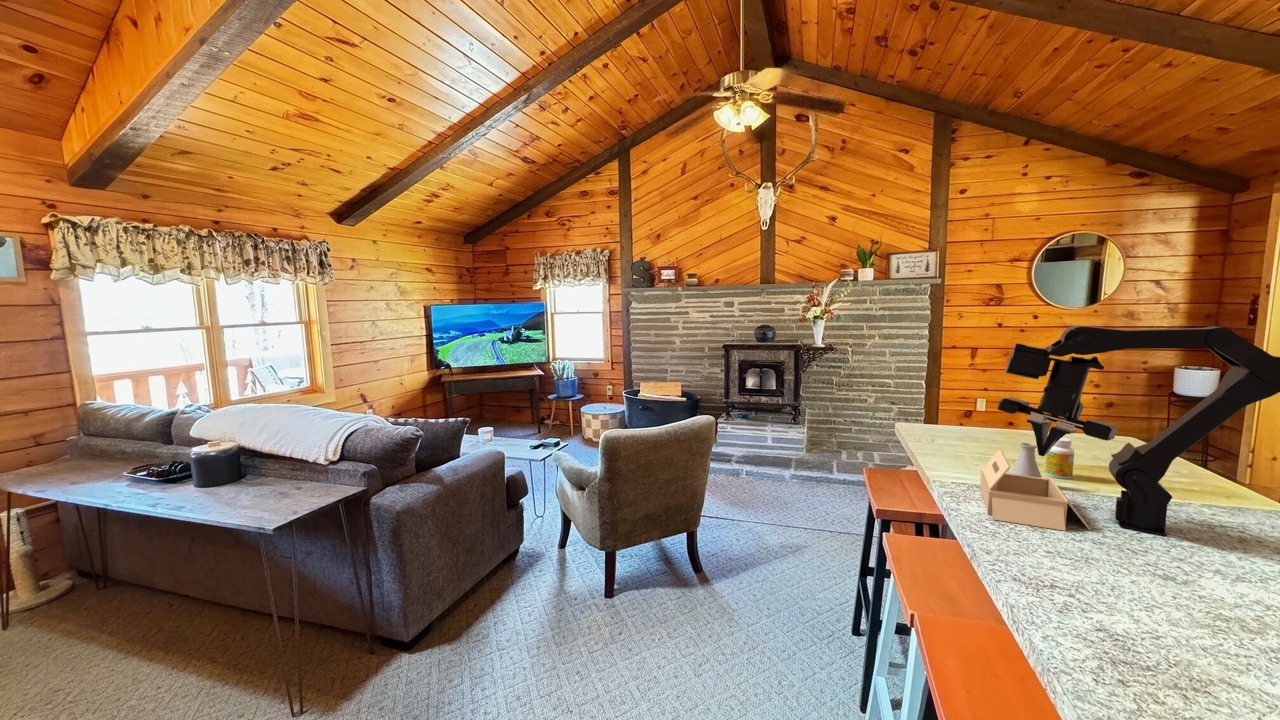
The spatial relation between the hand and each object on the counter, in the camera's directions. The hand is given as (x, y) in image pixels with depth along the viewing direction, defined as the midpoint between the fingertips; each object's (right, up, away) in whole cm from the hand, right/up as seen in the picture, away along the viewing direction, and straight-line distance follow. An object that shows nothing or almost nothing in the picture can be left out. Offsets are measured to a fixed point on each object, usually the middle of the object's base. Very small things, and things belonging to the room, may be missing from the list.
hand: (1041, 455), depth 105 cm
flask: (+9, -10, +17) cm, 22 cm away
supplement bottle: (+22, -9, +21) cm, 32 cm away
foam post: (-3, -11, +10) cm, 15 cm away
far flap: (-8, -6, +6) cm, 12 cm away
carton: (-1, -12, +2) cm, 12 cm away
